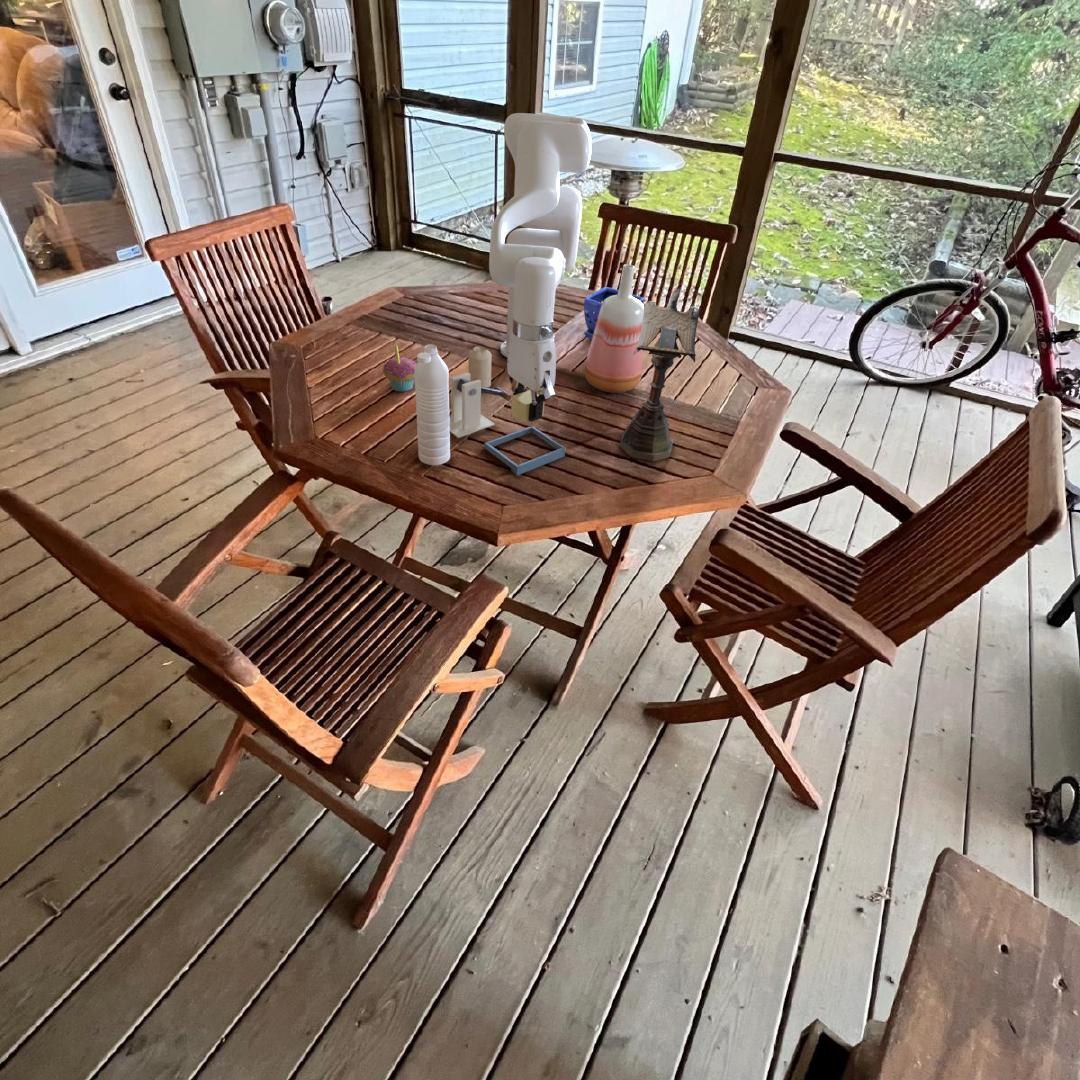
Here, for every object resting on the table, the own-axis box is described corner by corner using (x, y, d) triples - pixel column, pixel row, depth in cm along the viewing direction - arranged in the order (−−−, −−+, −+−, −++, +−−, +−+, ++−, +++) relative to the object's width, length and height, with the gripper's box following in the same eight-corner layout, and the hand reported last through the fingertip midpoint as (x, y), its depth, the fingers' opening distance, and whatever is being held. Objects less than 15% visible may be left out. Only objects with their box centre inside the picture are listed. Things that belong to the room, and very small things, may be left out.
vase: (650, 386, 176) (672, 268, 157) (615, 404, 167) (634, 281, 148) (606, 366, 183) (622, 251, 164) (571, 382, 174) (583, 263, 155)
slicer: (473, 413, 159) (474, 366, 151) (494, 428, 154) (496, 380, 147) (437, 425, 154) (435, 377, 146) (457, 441, 149) (457, 392, 142)
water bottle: (424, 449, 146) (419, 336, 130) (453, 454, 145) (452, 341, 129) (411, 471, 139) (404, 355, 123) (442, 476, 138) (439, 360, 123)
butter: (529, 407, 144) (530, 389, 141) (543, 415, 141) (544, 398, 138) (510, 413, 141) (511, 395, 138) (524, 422, 138) (525, 404, 136)
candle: (494, 385, 170) (495, 347, 164) (484, 394, 167) (484, 355, 160) (475, 379, 172) (475, 341, 166) (464, 388, 168) (464, 350, 162)
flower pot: (640, 337, 199) (646, 297, 192) (619, 352, 190) (625, 310, 183) (600, 325, 204) (605, 285, 197) (578, 339, 195) (582, 298, 188)
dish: (531, 433, 154) (532, 425, 152) (564, 456, 147) (565, 447, 146) (484, 451, 147) (484, 442, 145) (516, 475, 140) (517, 467, 139)
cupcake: (412, 397, 163) (410, 350, 155) (378, 392, 164) (374, 344, 156) (424, 382, 169) (422, 335, 162) (391, 376, 170) (388, 330, 163)
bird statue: (675, 478, 144) (713, 315, 121) (613, 467, 145) (640, 304, 123) (681, 439, 156) (716, 285, 134) (624, 429, 158) (650, 275, 136)
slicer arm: (496, 394, 158) (499, 384, 157) (509, 403, 155) (513, 393, 154) (452, 386, 148) (456, 375, 148) (466, 395, 146) (469, 385, 145)
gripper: (577, 339, 127) (568, 426, 138) (520, 309, 136) (515, 393, 148) (546, 348, 123) (539, 437, 134) (489, 317, 132) (487, 402, 144)
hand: (527, 413), depth 141 cm, fingers closed on butter, 4 cm apart
